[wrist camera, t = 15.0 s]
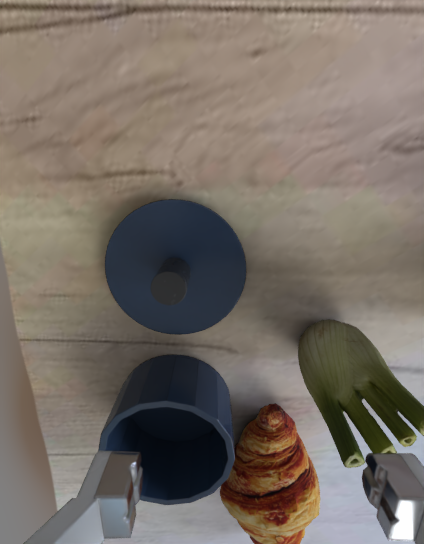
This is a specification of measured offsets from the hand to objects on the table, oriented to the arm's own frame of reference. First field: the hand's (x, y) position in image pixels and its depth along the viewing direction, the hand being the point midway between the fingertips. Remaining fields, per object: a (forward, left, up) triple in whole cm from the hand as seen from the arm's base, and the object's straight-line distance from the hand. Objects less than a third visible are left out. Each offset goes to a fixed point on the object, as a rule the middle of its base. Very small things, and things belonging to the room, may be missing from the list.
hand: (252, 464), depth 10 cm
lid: (-4, -3, -16) cm, 17 cm away
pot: (+8, -11, -16) cm, 21 cm away
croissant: (+20, -7, -17) cm, 27 cm away
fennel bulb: (+8, +5, -17) cm, 19 cm away
